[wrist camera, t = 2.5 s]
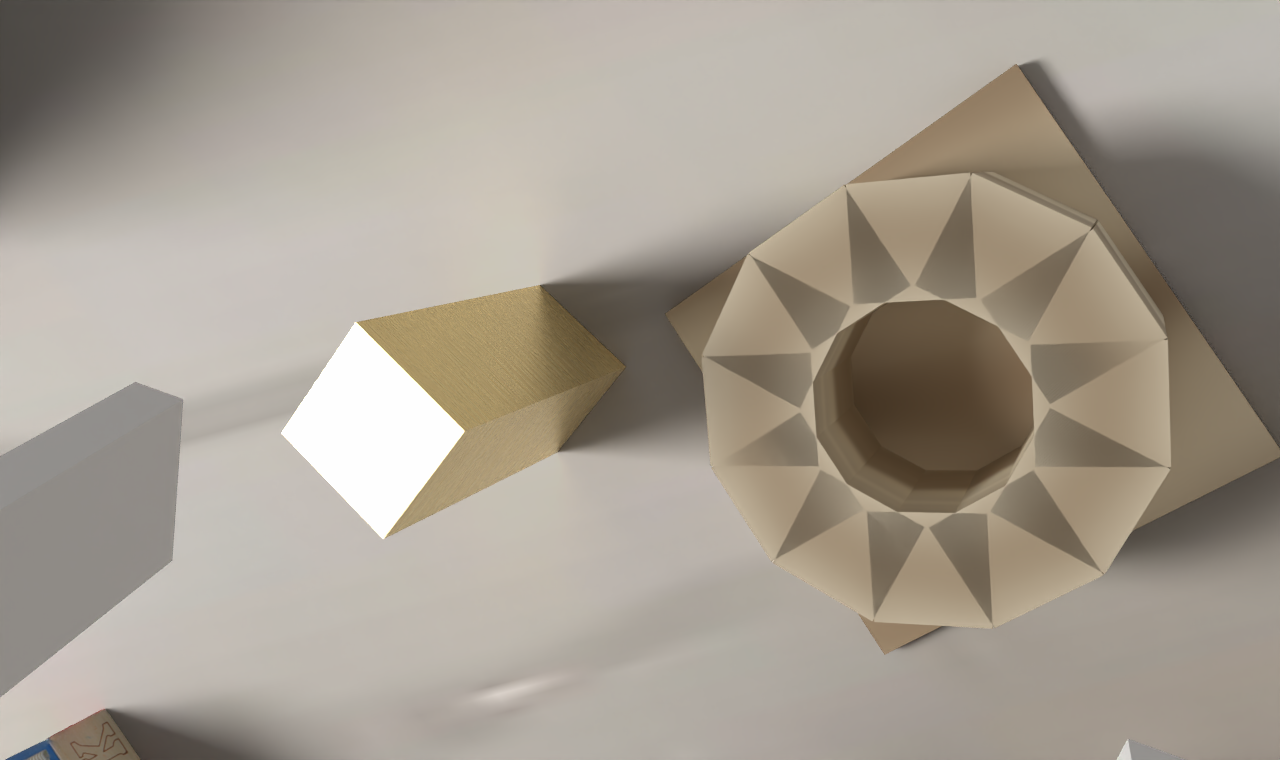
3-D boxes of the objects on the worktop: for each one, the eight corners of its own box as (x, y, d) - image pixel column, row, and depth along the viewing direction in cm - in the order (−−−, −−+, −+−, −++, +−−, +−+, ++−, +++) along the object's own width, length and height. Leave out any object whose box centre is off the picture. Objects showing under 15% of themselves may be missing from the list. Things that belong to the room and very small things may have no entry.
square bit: (475, 372, 40) (281, 433, 31) (539, 284, 38) (356, 322, 29) (557, 452, 39) (383, 538, 30) (626, 367, 38) (464, 431, 29)
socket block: (670, 312, 37) (605, 333, 32) (1017, 65, 32) (997, 48, 27) (887, 648, 36) (852, 718, 31) (1281, 451, 31) (1307, 501, 26)
